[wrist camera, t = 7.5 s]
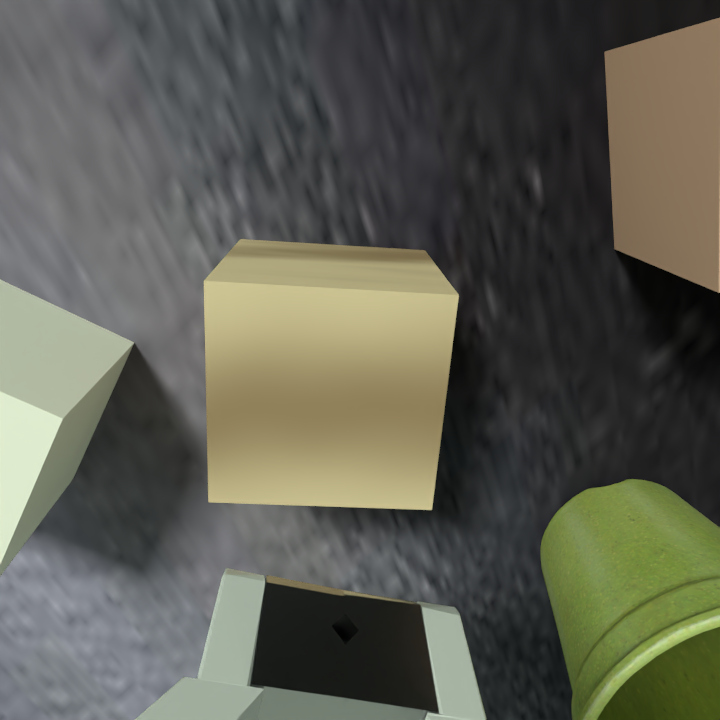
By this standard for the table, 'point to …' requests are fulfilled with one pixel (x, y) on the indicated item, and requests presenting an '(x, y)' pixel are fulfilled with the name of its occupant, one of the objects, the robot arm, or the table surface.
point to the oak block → (326, 375)
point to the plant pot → (636, 603)
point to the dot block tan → (667, 151)
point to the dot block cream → (47, 405)
